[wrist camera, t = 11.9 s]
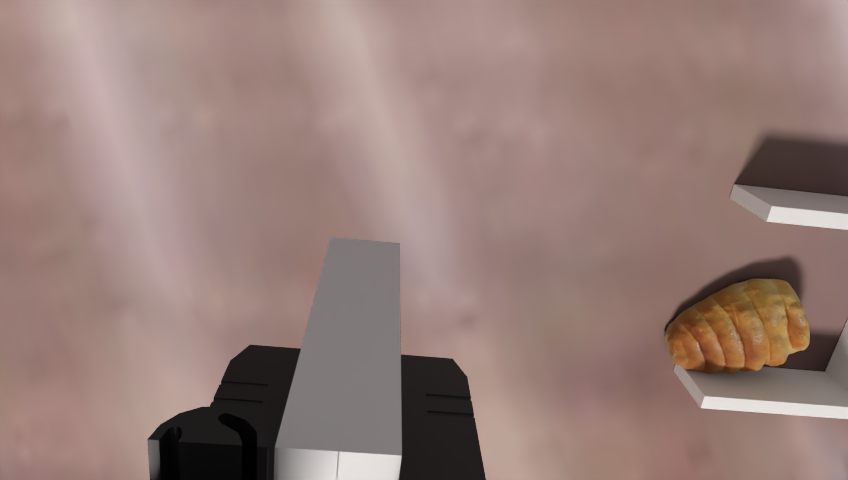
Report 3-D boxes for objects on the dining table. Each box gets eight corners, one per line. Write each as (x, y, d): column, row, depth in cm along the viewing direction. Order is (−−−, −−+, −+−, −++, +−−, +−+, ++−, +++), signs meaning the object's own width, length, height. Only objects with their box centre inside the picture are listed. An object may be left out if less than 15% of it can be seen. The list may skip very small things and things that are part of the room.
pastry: (670, 376, 47) (692, 407, 44) (652, 304, 45) (674, 331, 41) (790, 337, 46) (823, 366, 43) (779, 262, 44) (812, 285, 40)
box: (733, 184, 41) (771, 206, 37) (912, 203, 42) (968, 226, 38) (673, 370, 47) (700, 407, 43) (832, 383, 48) (873, 420, 44)
